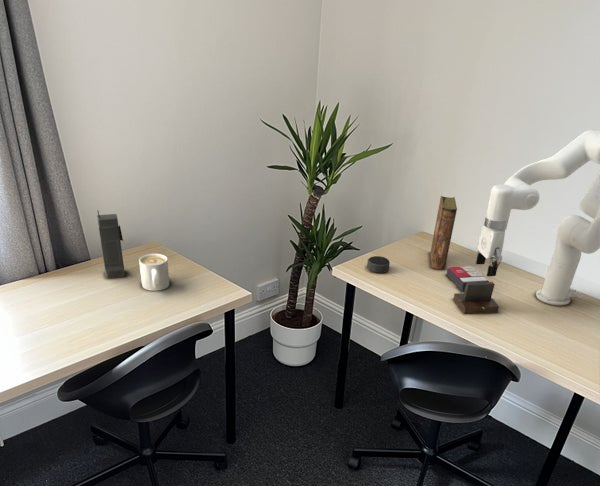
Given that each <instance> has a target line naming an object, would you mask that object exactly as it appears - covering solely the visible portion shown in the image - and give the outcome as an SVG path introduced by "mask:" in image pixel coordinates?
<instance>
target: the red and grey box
mask: <svg viewBox="0 0 600 486" xmlns="http://www.w3.org/2000/svg"><path fill="white" fill-rule="evenodd" d="M446 277H447V278H448V279H450V281H452V282H453V283H454V284H455V285H456V288H458V290H459V291H461V292H464V291H465V287H466V283H472V282H490V280H488V278H486V277H485V276H484V275H483V274H482V273H481V272H480V271H478V269H476V268H475V267H474V266H472V265H468V266H466V265H465V266H450V267H448V268H447V269H446Z"/></svg>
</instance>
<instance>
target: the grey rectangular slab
mask: <svg viewBox="0 0 600 486" xmlns="http://www.w3.org/2000/svg"><path fill="white" fill-rule="evenodd" d="M495 286H496V284H495V283H494V281H489V282H472V283H466V287H465V291H463V293H464V296H463V300H464V301H490V300H491V298H493V297H492V296H493V294H494V293H493V292H494V289H495Z"/></svg>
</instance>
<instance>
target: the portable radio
mask: <svg viewBox="0 0 600 486" xmlns="http://www.w3.org/2000/svg"><path fill="white" fill-rule="evenodd" d="M96 220H97V227H98V232H99V239H100V245H101V253H102V258H103V260H102V261H103V265H104V271H105V272H104V273H105V277H106V278H107V279H117V278H124V277H125V276H126V274H125V266H124V265H125V264H124V257H123V251H122V243H121V241H122V242H124V238H123V233H122V228H121V225H120V224H119V220H118V215H117V213H109V214H100V211H97V214H96Z"/></svg>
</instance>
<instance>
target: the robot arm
mask: <svg viewBox="0 0 600 486" xmlns="http://www.w3.org/2000/svg"><path fill="white" fill-rule="evenodd" d="M590 161H591V162H594V163H596V164H597V165H598V164H599V165H600V130H597V129H588V130H585V131H583V132H582V133H581V134H579V135H578V136H577V137H576V138H574V139H573V140H571V141H570V142H569V143H568V144H566V145H565V146H563V147H562V148H561V149H560V150H558V151H557V152H556V153H555V154H553V155H551V156H550V157H546V158H543V159H541V160H538V161H535V162H532V163H529V164H527V165H525V166H523V167H521V168H520V169H519V170H517V171H516V172H515V173H514V174H512V175H511V176H510V177H508V179H507V180H506V181H505V182H504V183H499V184H495V185H493V186H492V188H491V190H490V195H489V198H488V205H487V208H486V212H485V218H484V223H483V225H482V228H481V231H480V234H479V238H478V242H477V246H476V248H477V255H476V261H475V264H476V265H485V264H486V260H489V264H488V266H487V273H486V277H496V276H497V272H498V269H499V266H500V265H501V262H502V261H503V256H502V253H503V249H504V248H503V246H504V243H505V236H506V230H507V229H508V224H509V219H510V215H511V212H512V210H518V211H519V210H520V211H528V210H531V209H533V208H534V207H536V206H537V205H538V204H539V201H540V193H539V191H538V190H537V189H536V188H535V187H533V186H532V185H533V184H535V183H537V182H541V181H550V180H551V181H552V180H554V181H555V180H564V179H567V178H568V177H570V176H571V175H572V174H574V173H575V172H576V171H578V170H579V169H581V168H582V167H583V166H585V164H587V163H588V162H590ZM579 210H580V211H581V212H582V213H584V215H586V216H588V217H590V218H591V219H593V220H592V221H590V220H589V219H587V218H585V217H583V216H581V215H578V214H570V215H567V216H565V217H564V218H563V219H562V220H561V221H560V223H559V224H558V227H557V232H556V239H555V240H556V241H555V246H554V249H553V253H552V255H551V259H550V261H549V265H548V268H547V271H546V275H545V277H544V281H543V285H542V288H539V289H537V290H536V292H535V296H536V299H538V300H539V301H541V302H542V303H544V304H548V305H552V306H566V305H568V304H570V303H571V300H572V298H579V299H580V298H581V297H582V292H580V291H577V289H571V288H572V287H571V286H572V284H573V281H574V278H575V275H576V273H577V269H578V266H579V263H580V262H581V257H582V253H583V254H587V255H590V254H594V253H595V252H597V251H598V250H599V249H600V170H599V171H598V173H597V174H596V176H595V178H594V179H593V181H592V182H591V184H590V185H589V187H587V190H586V191H585V193H584V194H583V196H582V198H581V199H580V201H579Z"/></svg>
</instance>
